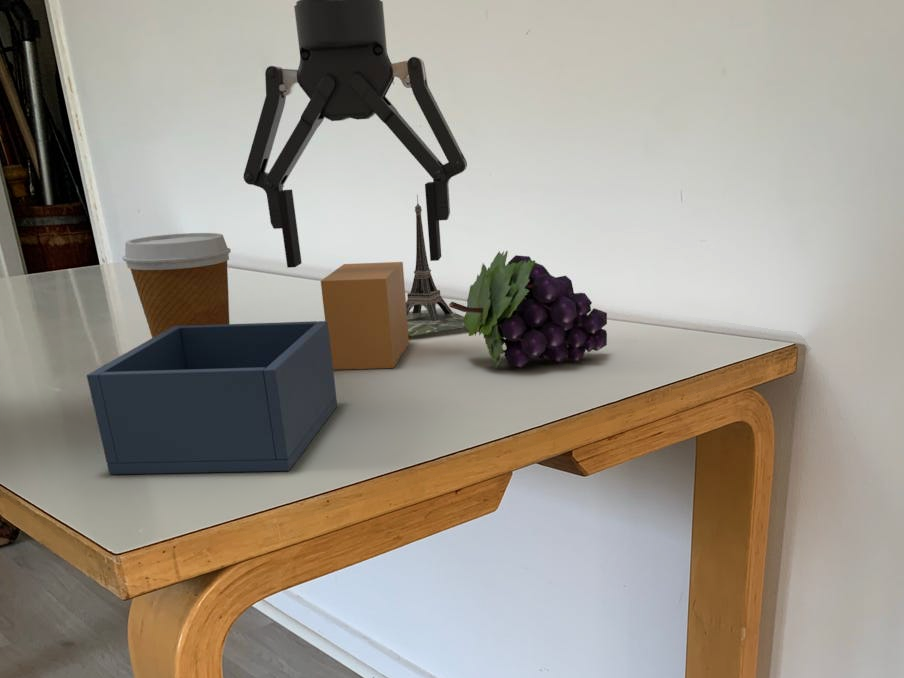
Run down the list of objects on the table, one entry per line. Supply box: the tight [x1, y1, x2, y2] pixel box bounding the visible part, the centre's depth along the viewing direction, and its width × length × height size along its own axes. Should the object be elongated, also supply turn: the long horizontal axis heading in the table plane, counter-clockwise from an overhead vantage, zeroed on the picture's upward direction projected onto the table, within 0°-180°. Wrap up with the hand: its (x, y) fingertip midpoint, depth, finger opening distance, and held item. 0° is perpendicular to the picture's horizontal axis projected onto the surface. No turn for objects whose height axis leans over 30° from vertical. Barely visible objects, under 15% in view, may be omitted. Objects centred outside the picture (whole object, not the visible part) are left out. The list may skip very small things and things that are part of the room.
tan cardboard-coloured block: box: [320, 261, 410, 371], centre depth 96 cm, size 6×11×8 cm, turn 176°
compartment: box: [86, 320, 338, 475], centre depth 73 cm, size 13×17×7 cm
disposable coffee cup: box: [122, 232, 232, 339], centre depth 92 cm, size 10×10×12 cm
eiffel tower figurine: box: [406, 194, 465, 337], centre depth 108 cm, size 15×10×13 cm
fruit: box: [448, 250, 608, 369], centre depth 90 cm, size 10×11×15 cm
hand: (364, 262), depth 94 cm, fingers open, 13 cm apart
